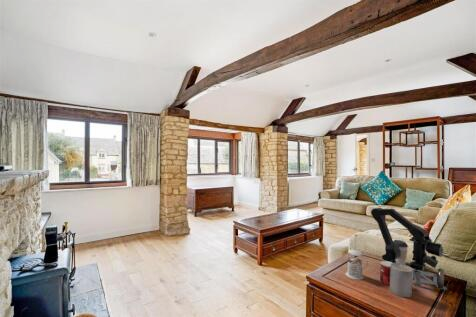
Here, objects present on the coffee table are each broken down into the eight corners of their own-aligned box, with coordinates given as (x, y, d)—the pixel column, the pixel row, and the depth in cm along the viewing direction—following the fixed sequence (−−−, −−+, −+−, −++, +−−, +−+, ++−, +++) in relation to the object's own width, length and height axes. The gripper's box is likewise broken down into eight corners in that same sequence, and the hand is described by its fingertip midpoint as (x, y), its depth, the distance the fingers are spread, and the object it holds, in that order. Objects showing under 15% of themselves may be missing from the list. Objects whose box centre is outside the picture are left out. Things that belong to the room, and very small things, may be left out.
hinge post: (438, 288, 128) (438, 269, 128) (434, 285, 132) (435, 266, 132) (447, 290, 127) (447, 270, 127) (442, 286, 131) (443, 267, 131)
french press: (344, 270, 147) (346, 230, 147) (365, 273, 143) (366, 233, 143) (346, 277, 137) (347, 235, 137) (368, 281, 133) (369, 238, 133)
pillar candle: (390, 285, 130) (391, 258, 130) (412, 291, 124) (413, 264, 124) (388, 292, 123) (389, 264, 123) (411, 300, 117) (412, 270, 117)
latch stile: (414, 286, 130) (415, 271, 130) (412, 283, 133) (412, 268, 133) (422, 287, 129) (422, 272, 129) (419, 284, 132) (420, 269, 132)
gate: (436, 284, 131) (436, 274, 131) (436, 285, 130) (437, 274, 130) (412, 278, 137) (412, 268, 137) (412, 279, 136) (412, 269, 136)
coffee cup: (402, 260, 164) (402, 239, 164) (410, 266, 155) (411, 243, 155) (388, 259, 165) (389, 238, 165) (396, 265, 156) (396, 242, 156)
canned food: (381, 277, 138) (382, 259, 138) (397, 283, 133) (398, 264, 133) (378, 282, 133) (378, 263, 133) (394, 288, 127) (395, 268, 127)
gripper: (435, 259, 125) (433, 288, 125) (439, 249, 138) (438, 275, 138) (409, 253, 133) (408, 280, 133) (415, 244, 146) (414, 268, 146)
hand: (418, 276), depth 137 cm, fingers closed
